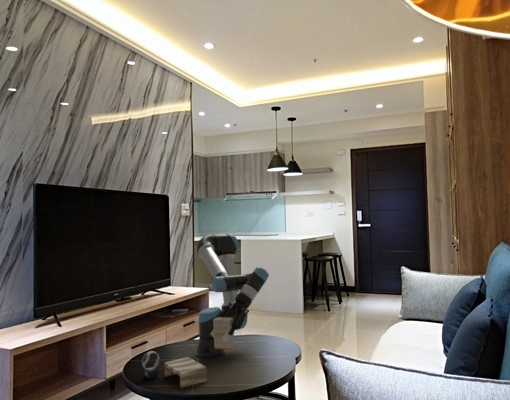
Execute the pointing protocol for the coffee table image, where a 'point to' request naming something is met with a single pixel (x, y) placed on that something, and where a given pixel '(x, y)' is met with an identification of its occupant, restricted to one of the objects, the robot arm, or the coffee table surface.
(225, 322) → the supplement box
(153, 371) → the watch
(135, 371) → the coffee table surface
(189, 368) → the grooved beige block
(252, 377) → the coffee table surface
